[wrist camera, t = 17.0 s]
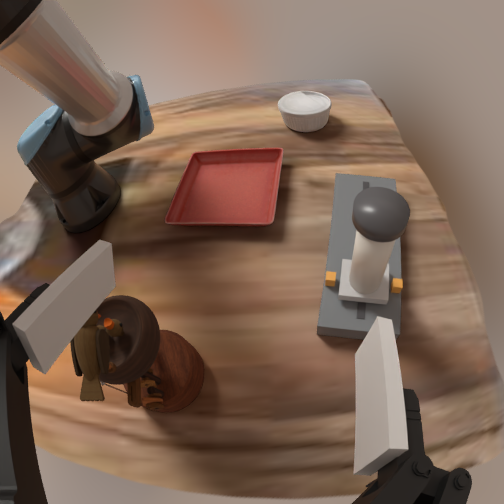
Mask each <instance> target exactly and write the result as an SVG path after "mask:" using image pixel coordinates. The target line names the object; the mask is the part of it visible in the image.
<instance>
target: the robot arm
mask: <svg viewBox="0 0 504 504" xmlns="http://www.w3.org/2000/svg"><path fill="white" fill-rule="evenodd" d="M0 66H2V67H3V68H5V69H6V70H8V71H9V72H10V73H12V74H13V75H15V76H16V77H17V78H19V79H20V80H22V81H23V82H25V83H26V84H27V85H29V86H30V87H32V88H33V89H34V90H36V91H37V92H39V93H40V94H41V95H43V96H44V97H46V98H47V99H48V100H50V101H51V102H53V103H54V104H55V105H53V106H51V107H50V108H48V109H47V110H46V111H45V112H43V113H42V114H41V115H40V116H39V117H37V118H36V119H35V120H34V121H33V122H32V123H31V125H30V126H29V127H28V128H27V129H26V130H25V132H24V133H23V135H22V136H21V137H20V139H19V142H18V145H17V150H18V153H19V154H20V156H21V158H22V160H23V161H24V164H25V165H26V166H27V167H28V168H29V170H30V171H31V172H32V174H33V175H34V176H35V178H36V179H37V180H38V182H39V183H40V184H41V186H42V187H43V188H44V189H45V191H46V192H47V193H48V194H49V196H50V197H51V198H52V200H53V203H54V206H55V209H56V212H57V215H58V218H59V220H60V222H61V224H62V225H63V226H64V227H65V228H66V229H67V230H68V231H69V232H72V233H80V232H84V231H86V230H89V229H91V228H93V227H94V226H96V225H97V224H99V223H100V222H101V221H103V220H104V219H105V218H106V217H107V216H108V215H109V214H110V212H111V211H112V210H113V208H114V207H115V205H116V204H117V202H118V199H119V196H120V187H119V185H118V183H117V181H116V180H115V178H114V177H113V176H112V175H110V174H109V173H108V172H106V171H105V170H104V169H103V168H101V167H100V166H99V165H97V164H96V163H95V162H94V160H95V159H97V158H99V157H101V156H103V155H105V154H107V153H109V152H111V151H114V150H116V149H118V148H120V147H122V146H125V145H127V144H129V143H131V142H134V141H138V140H140V139H141V138H142V137H145V136H147V135H149V134H150V133H152V131H153V129H154V123H153V120H152V116H151V113H150V110H149V106H148V102H147V99H146V96H145V92H144V89H143V85H142V82H141V79H140V76H138V75H134V76H128V77H127V78H126V77H125V76H124V75H123V74H121V73H119V72H115V71H109V70H108V68H107V67H106V66H105V64H104V63H103V62H102V60H101V59H100V58H99V56H98V55H97V54H96V52H95V51H94V50H93V48H92V47H91V46H90V44H89V43H88V42H87V40H86V39H85V38H84V36H83V35H82V34H81V32H80V31H79V30H78V28H77V27H76V26H75V24H74V23H73V22H72V20H71V19H70V17H69V16H68V15H67V13H66V12H65V11H64V10H63V8H62V7H61V6H60V4H59V3H58V1H57V0H0ZM115 286H116V284H115V275H114V265H113V254H112V243H109V242H106V241H103V240H99V241H98V242H96V243H95V244H94V245H93V246H92V247H91V248H90V249H88V250H87V251H86V252H85V253H84V254H83V255H82V256H81V257H80V258H78V259H77V260H76V261H75V262H74V263H73V264H72V265H71V266H70V267H69V268H68V269H67V270H65V271H64V272H63V273H62V274H61V275H60V276H59V277H58V278H57V279H56V280H55V281H54V282H53V283H52V284H51V285H49V284H47V283H45V284H43V285H42V286H40V287H38V288H36V289H35V290H34V291H33V292H32V293H31V294H30V296H28V297H27V298H26V299H25V300H24V302H22V303H21V304H20V305H19V306H18V307H17V308H16V309H15V310H14V311H13V312H12V313H11V314H10V315H9V317H8V318H7V319H6V320H5V321H4V318H3V316H2V314H1V312H0V504H48V502H47V499H46V495H45V491H44V487H43V483H42V479H41V474H40V470H39V465H38V460H37V455H36V449H35V443H34V437H33V430H32V422H31V414H30V404H29V392H28V375H27V365H26V362H27V361H28V360H30V362H31V364H32V365H33V367H34V368H36V369H37V370H39V371H41V372H42V373H44V374H46V373H47V371H48V370H49V369H50V367H51V366H52V365H53V363H54V362H55V361H56V359H57V358H58V357H59V355H60V354H61V353H62V352H63V350H64V349H65V348H66V346H67V345H68V344H69V342H70V341H71V340H72V339H73V337H74V336H75V335H76V334H77V332H78V331H79V330H80V329H81V327H82V326H83V325H84V324H85V322H86V321H87V320H88V319H89V317H90V316H91V315H92V314H93V313H94V311H95V310H96V309H97V308H98V307H99V305H100V304H101V303H102V302H103V301H104V299H105V298H106V297H107V296H108V295H109V293H110V292H111V291H112V290H113V289H114V288H115ZM355 369H356V428H355V456H354V473H353V474H355V475H370V476H371V475H372V474H374V473H375V472H377V471H378V478H377V479H376V480H374V481H372V482H371V483H369V484H368V485H366V487H368V488H367V489H366V490H365V491H364V492H363V493H362V494H361V495H360V496H359V497H358V498H357V499H356V500H355V501H354V502H353V503H352V504H466V502H467V499H468V496H469V493H470V489H471V485H472V480H471V476H470V474H469V472H468V471H467V470H465V469H463V468H457V469H454V470H453V471H451V472H448V471H445V470H443V469H440V468H437V467H435V466H433V463H432V461H431V460H430V458H429V457H428V456H426V455H425V452H424V442H423V432H422V423H421V415H420V413H419V412H420V407H419V400H418V398H417V396H416V394H415V392H414V390H411V389H404V388H403V386H402V379H401V371H400V365H399V358H398V352H397V346H396V340H395V334H394V329H393V323H392V320H391V319H387V318H383V317H379V316H377V318H376V320H375V322H374V323H373V325H372V327H371V329H370V330H369V332H368V334H367V335H366V337H365V339H364V340H363V342H362V344H361V345H360V347H359V349H358V350H357V352H356V354H355Z"/></svg>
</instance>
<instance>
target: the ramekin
mask: <svg viewBox="0 0 504 504" xmlns="http://www.w3.org/2000/svg"><path fill="white" fill-rule="evenodd" d="M278 108H279V110H280V112H281V115H282V117H283V120H284V123H285V124H286V125H287V126H288V127H289V128H290V129H292V130H295V131H299V132H313V131H317V130H319V129H321V128H323V127H324V126H325V125H326V123H327V121H328V118H329V112H330V109H331V100H330V99H329V98H328V97H327V96H325V95H323V94H321V93H318V92H313V91H298V92H293V93H290V94H287V95H285V96H284V97H282V98H281V99H280V100H279V102H278Z"/></svg>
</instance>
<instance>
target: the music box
mask: <svg viewBox="0 0 504 504" xmlns="http://www.w3.org/2000/svg"><path fill="white" fill-rule="evenodd" d="M71 352H72V359H73V364H74V369H75V372H76V375H77V376H82V374H84V376H83V382H82V388H81V395H80V400H81V401H85V400H86V401H94V400H95V401H99V400H100V401H104V399H105V398H104V394H103V391H102V387H101V385H106V386H109V387H111V388H114V389H116V390H119V391H121V392H124V393H127V394H128V403H129V405H130V406H134V407H137V408H138V407H140V406H143V407H146V408H149V410H156V411H160V412H174V411H178V410H181V409H183V408H185V407H186V406H188V405H189V404H190V403H191V402H192V401H193V400H194V399H195V398H196V397H197V395H198V394H199V392H200V390H201V388H202V385H203V381H204V366H203V362H202V359H201V357H200V355H199V353H198V352H197V350H196V349H195V348H194V347H193V346H192V345H191V344H190V343H188V342H187V341H186V340H185V339H184V338H183V337H182V336H180V335H179V334H177V333H175V332H172V331H168V330H160V329H159V325H158V322H157V319H156V317H155V315H154V314H153V312H152V311H151V310H150V308H149V307H148V306H147V305H145V304H144V303H143V302H141V301H140V300H138V299H136V298H133V297H130V296H123V295H119V296H112V297H109V298H106V299H104V301H103V302H102V303H101V304H100V305H99V307H98V308H97V309H96V310H95V311H94V313H93V314H92V315H91V316H90V317H89V319H88V320H87V321H86V322H85V324H84V325H83V326H82V327H81V329H80V330H79V331H78V332H77V334H76V335H75V336H74V337H73V339H72V340H71ZM100 382H101V383H100ZM105 383H109V384H123V385H124V387H125V389H126V391H127V392H125V391H122V390H120V389H117V388H115V387H112V386H110V385H107V384H105Z"/></svg>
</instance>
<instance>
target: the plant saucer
mask: <svg viewBox="0 0 504 504" xmlns="http://www.w3.org/2000/svg"><path fill="white" fill-rule="evenodd" d="M283 152H284V150H283V149H282V148H250V149H230V150H229V149H228V150H212V151H200V152H194V153H193V154H192V155H191V157H190V159H189V162H188V164H187V166H186V168H185V171H184V173H183V175H182V178H181V180H180V182H179V185H178V187H177V189H176V192H175V194H174V197H173V199H172V202H171V204H170V207H169V209H168V211H167V214H166V217H165V220H164V221H165V223H166V224H171V225H181V226H183V225H184V226H268V225H270V224H272V223H273V221H274V217H275V209H276V202H277V195H278V188H279V181H280V173H281V166H282V159H283Z"/></svg>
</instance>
